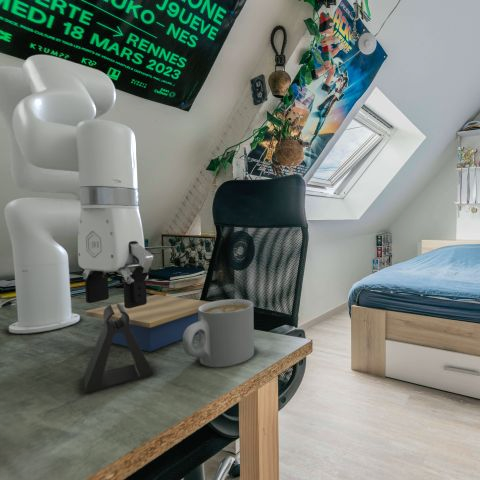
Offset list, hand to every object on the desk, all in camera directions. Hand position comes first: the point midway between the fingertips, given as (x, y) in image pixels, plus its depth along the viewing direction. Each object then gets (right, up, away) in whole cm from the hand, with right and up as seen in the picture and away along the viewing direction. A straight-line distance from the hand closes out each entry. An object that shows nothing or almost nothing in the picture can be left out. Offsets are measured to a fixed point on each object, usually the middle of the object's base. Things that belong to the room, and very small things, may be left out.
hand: (116, 303), depth 53 cm
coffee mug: (+13, -13, +9) cm, 20 cm away
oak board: (-6, -5, +19) cm, 21 cm away
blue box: (-6, -11, +19) cm, 23 cm away
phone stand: (0, -13, +1) cm, 13 cm away
